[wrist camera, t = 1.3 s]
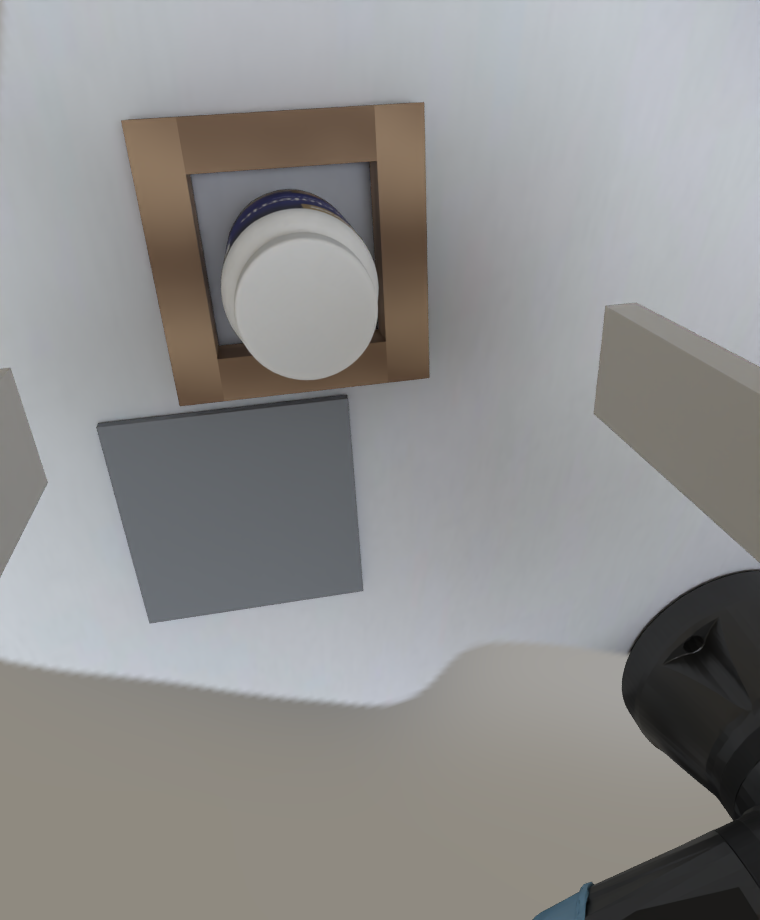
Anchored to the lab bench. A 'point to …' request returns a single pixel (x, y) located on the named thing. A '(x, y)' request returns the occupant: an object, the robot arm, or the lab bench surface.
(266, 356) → the pill bottle
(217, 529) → the rubber mat
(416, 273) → the wooden square frame
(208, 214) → the lab bench surface
